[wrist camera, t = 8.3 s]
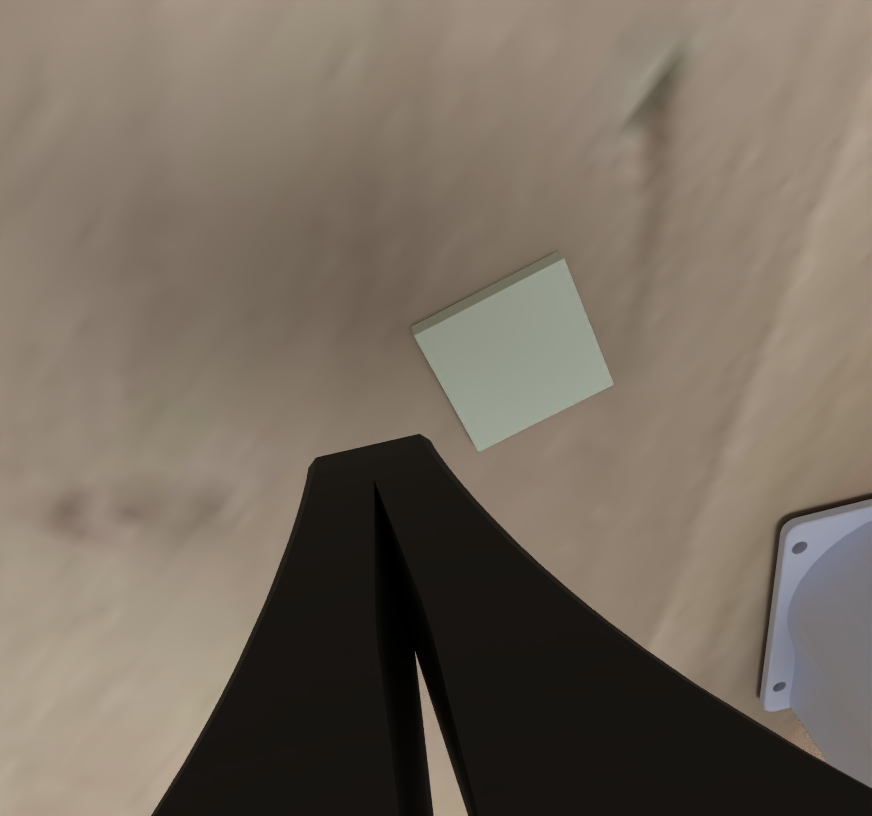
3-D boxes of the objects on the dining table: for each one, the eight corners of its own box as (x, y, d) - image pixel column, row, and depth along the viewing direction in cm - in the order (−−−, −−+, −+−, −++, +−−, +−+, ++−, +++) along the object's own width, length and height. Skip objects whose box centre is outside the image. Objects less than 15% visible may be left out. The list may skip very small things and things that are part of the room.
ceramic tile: (600, 366, 22) (613, 384, 21) (470, 432, 22) (478, 452, 21) (550, 243, 19) (563, 257, 18) (407, 318, 20) (413, 335, 19)
